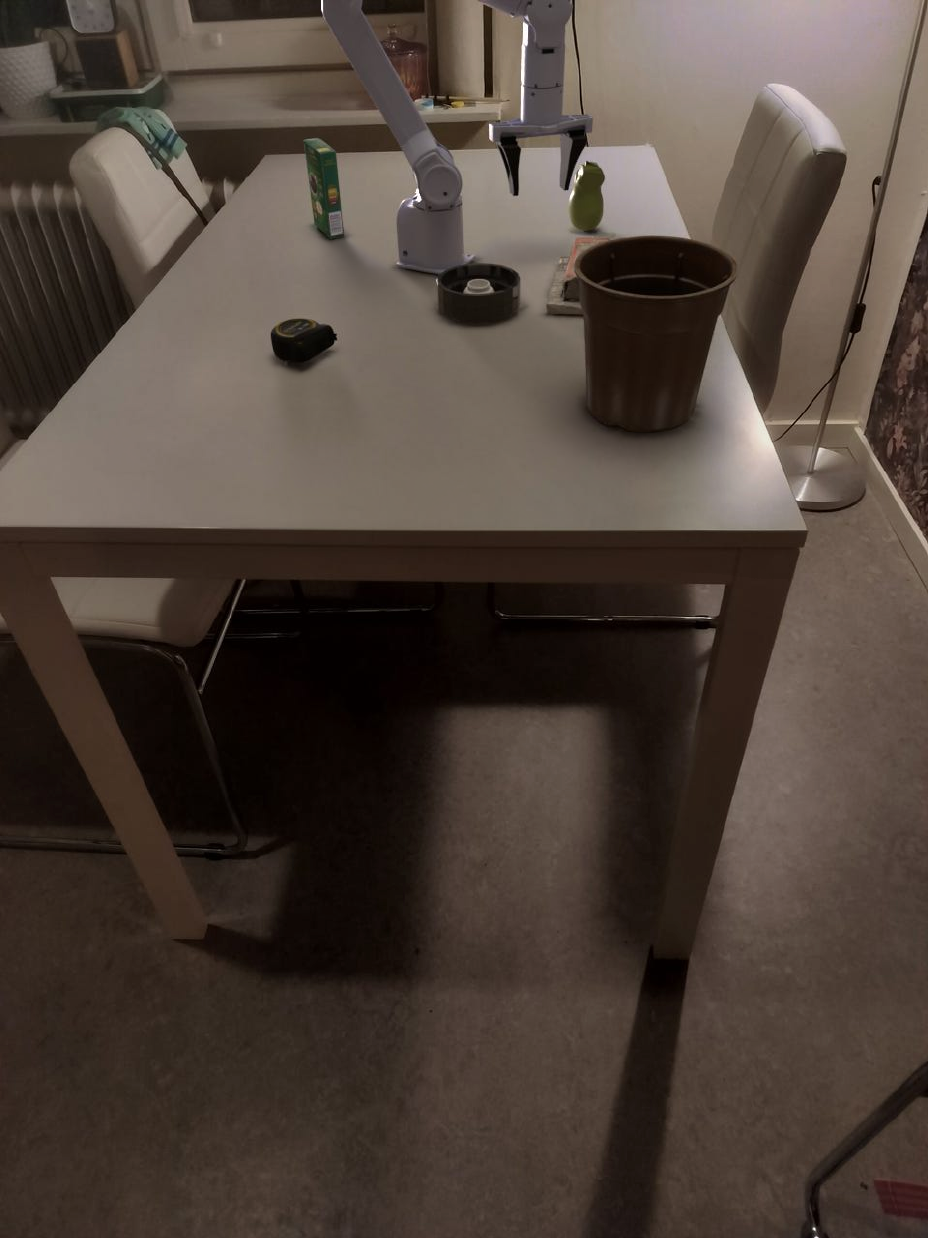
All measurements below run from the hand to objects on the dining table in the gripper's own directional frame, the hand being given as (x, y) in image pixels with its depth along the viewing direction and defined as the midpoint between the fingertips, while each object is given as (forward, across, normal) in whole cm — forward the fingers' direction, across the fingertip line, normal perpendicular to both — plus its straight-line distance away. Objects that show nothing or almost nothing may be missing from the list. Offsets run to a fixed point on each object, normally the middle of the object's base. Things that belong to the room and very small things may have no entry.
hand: (539, 191), depth 127 cm
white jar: (+9, -14, -16) cm, 23 cm away
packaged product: (+10, +3, -15) cm, 18 cm away
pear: (+10, +11, +9) cm, 17 cm away
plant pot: (+10, -3, -48) cm, 49 cm away
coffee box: (+10, -29, +22) cm, 37 cm away
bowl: (+9, -14, -16) cm, 23 cm away
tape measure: (+10, -38, -23) cm, 46 cm away
